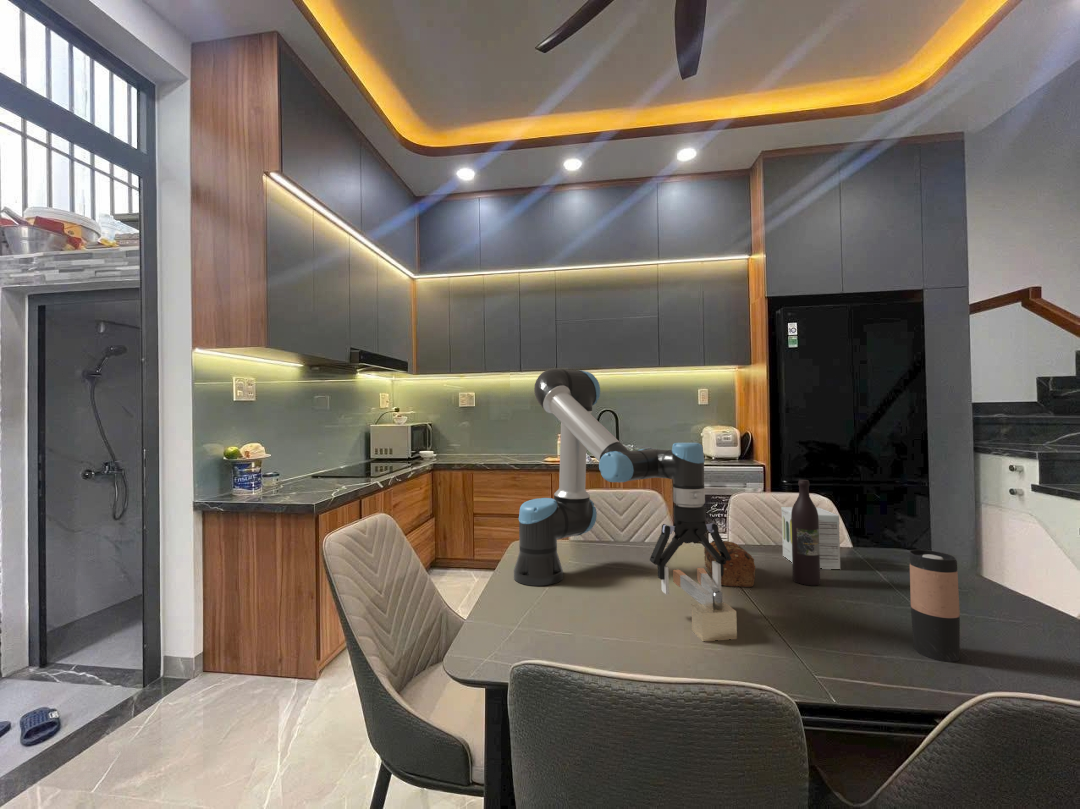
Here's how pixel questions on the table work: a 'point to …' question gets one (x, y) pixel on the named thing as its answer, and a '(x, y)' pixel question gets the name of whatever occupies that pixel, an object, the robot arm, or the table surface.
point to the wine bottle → (805, 538)
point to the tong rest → (707, 612)
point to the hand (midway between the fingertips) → (691, 590)
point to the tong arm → (709, 587)
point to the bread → (734, 566)
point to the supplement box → (827, 537)
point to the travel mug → (935, 604)
